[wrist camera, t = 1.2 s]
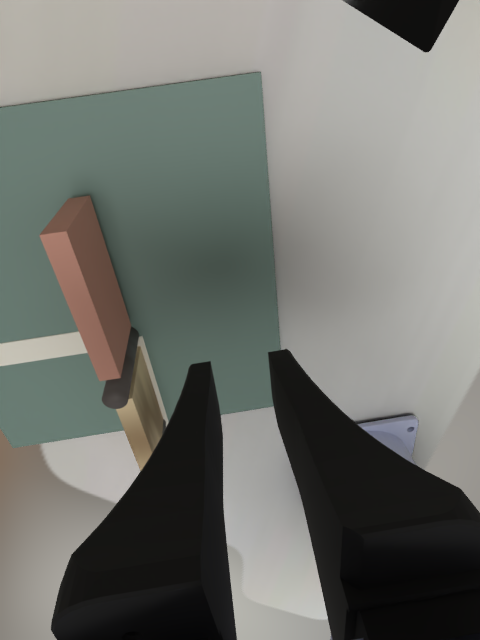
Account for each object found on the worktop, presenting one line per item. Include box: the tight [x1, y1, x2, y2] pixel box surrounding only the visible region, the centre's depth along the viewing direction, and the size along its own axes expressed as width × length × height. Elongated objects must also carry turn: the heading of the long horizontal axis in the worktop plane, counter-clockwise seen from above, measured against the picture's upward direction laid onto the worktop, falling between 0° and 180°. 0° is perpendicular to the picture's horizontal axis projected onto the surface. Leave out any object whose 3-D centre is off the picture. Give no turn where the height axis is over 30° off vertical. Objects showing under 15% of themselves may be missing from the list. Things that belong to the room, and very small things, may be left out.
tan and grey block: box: [102, 327, 166, 470], centre depth 21 cm, size 8×9×5 cm
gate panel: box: [39, 196, 131, 381], centre depth 17 cm, size 7×1×4 cm, turn 6°
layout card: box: [0, 72, 280, 448], centre depth 21 cm, size 18×17×1 cm
